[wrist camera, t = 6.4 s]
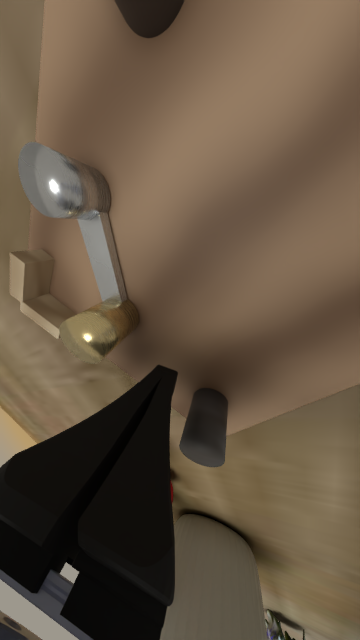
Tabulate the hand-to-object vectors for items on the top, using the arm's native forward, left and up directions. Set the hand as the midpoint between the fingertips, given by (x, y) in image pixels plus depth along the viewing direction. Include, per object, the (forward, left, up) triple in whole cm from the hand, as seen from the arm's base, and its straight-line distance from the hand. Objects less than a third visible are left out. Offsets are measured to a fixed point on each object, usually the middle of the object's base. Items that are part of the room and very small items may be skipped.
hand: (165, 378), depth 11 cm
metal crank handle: (+7, -3, -1) cm, 8 cm away
